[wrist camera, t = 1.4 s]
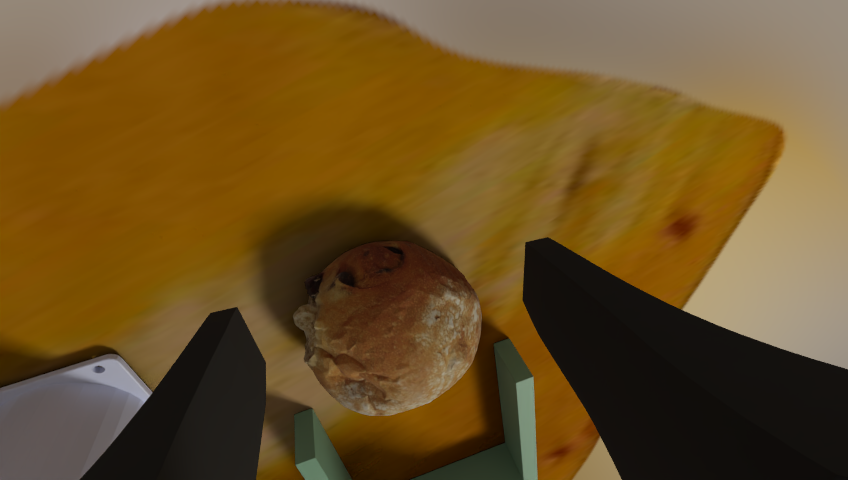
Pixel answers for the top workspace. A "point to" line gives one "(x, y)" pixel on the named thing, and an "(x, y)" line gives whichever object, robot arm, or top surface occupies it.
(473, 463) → the teal shallow tray
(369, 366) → the bread roll
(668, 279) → the top surface
